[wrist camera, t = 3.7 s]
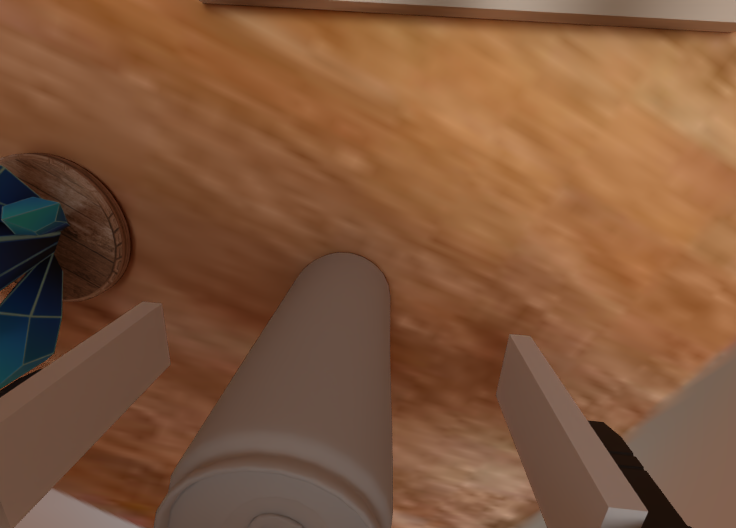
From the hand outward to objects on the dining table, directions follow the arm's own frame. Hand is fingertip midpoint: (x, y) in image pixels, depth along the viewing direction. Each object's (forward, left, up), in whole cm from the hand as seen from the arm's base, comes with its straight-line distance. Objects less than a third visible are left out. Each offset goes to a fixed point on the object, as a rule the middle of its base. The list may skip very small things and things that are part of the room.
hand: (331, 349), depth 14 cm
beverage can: (0, 0, -5) cm, 5 cm away
